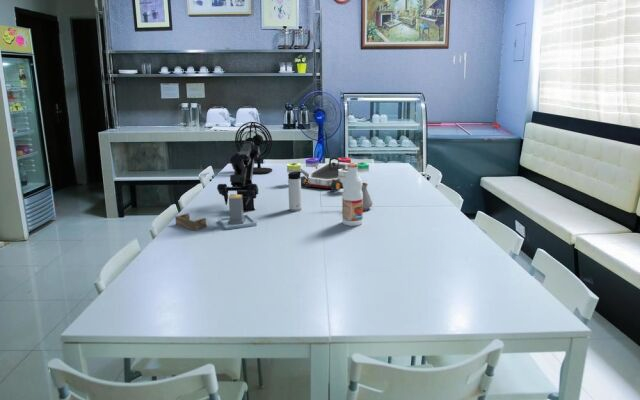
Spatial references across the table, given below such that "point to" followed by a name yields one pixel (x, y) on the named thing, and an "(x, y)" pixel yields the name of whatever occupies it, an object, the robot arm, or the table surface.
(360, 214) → the fruit juice
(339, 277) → the table surface
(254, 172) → the desk fan
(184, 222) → the walnut bay
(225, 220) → the slate tray
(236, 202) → the grey upright block piece
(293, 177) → the travel mug
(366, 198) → the coffee pot
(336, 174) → the cart
